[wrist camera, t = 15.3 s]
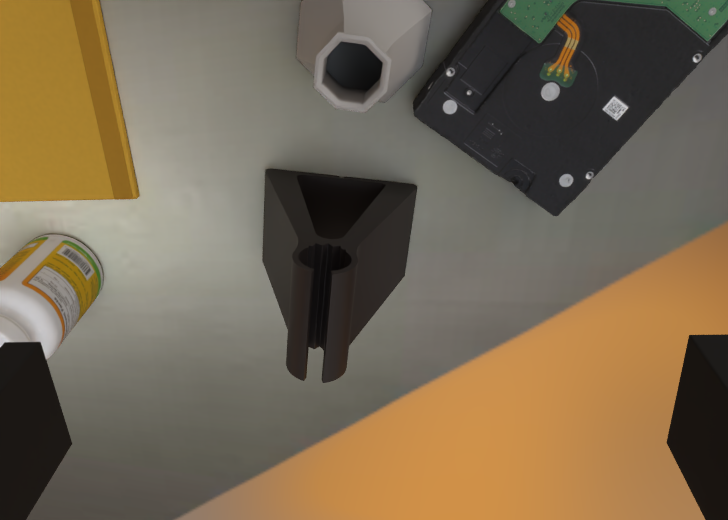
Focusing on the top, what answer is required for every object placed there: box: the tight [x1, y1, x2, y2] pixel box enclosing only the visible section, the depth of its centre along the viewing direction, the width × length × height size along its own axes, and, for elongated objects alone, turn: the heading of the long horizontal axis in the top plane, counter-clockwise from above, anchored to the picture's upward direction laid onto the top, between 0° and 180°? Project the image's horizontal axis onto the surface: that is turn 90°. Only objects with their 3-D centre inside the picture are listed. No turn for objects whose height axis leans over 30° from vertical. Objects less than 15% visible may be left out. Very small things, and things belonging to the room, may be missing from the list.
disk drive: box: [413, 0, 728, 216], centre depth 35 cm, size 10×3×15 cm
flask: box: [296, 0, 432, 113], centre depth 32 cm, size 7×7×10 cm
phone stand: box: [263, 169, 417, 383], centre depth 36 cm, size 9×6×12 cm, turn 84°
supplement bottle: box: [0, 234, 103, 360], centre depth 40 cm, size 5×5×10 cm
